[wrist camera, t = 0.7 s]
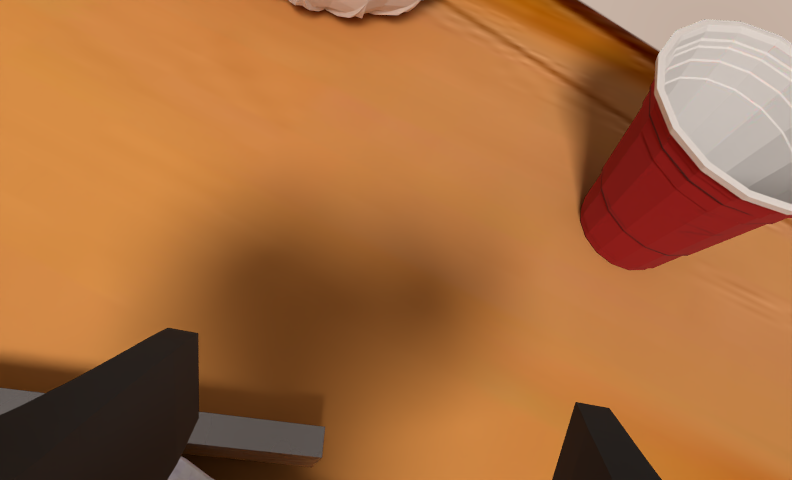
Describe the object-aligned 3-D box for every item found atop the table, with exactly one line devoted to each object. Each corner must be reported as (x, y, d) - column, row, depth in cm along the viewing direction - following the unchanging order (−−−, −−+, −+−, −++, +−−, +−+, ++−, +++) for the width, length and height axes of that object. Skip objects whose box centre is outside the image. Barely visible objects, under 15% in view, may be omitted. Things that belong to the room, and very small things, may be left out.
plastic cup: (508, 167, 38) (625, 17, 28) (642, 145, 43) (784, 8, 33) (589, 333, 35) (757, 228, 24) (727, 290, 39) (918, 186, 29)
